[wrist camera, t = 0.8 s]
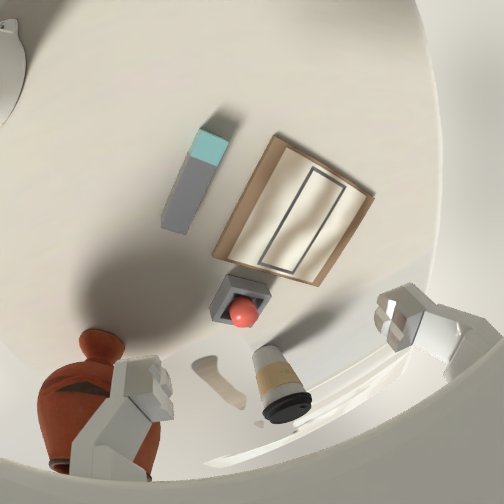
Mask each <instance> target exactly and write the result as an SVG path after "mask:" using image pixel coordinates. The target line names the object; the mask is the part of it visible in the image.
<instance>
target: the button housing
mask: <svg viewBox="0 0 504 504" xmlns="http://www.w3.org/2000/svg"><path fill="white" fill-rule="evenodd" d="M242 296H245V297H249V298H251V299H252V300H253V302H254V305H255V307H256V309H257V311H258V314H259V315H260V314H261V312H262V311H263V309H264V308H265V306H266V305H267V303H268V302H269V300H270V298H271V297H272V295H271V293H270V291H269V290H268V288H267V286H266V284H262V283H258V282H255V281H251V280H247V279H243V278H239V277H235V276H232V275H228V274H227V275H226V277H225V279H224V281H223V283H222V284H221V286H220V288H219V290H218V292H217V294H216V296H215V298H214V300H213V302H212V303H211V305H210V307H209V310H210V314H211V318H212V321H214V322H220V323H225V324H231V325H234V324H233V322H232V319H231V316H230V313H229V310H228V307H229V304H230V303H231V301H232V300H234V299H235V298H238V297H242ZM258 317H259V316H258ZM252 326H253V324H252V325H250V326H248V327H249V328H251V327H252Z"/></svg>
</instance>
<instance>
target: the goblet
mask: <svg viewBox="0 0 504 504" xmlns="http://www.w3.org/2000/svg"><path fill="white" fill-rule="evenodd" d="M79 345H80V348H81V350H82V352H83V353H84V354H85V356H86V357H87V359H86V360H85V361H84V362H77V363H72V364H69V365H66V366H64V367H61V368H59V369H57V370H56V371H54V372H53V373H52V374H51V375H50V376H49V377H48V378H47V379H46V380H45V381H44V383H43V385H42V387H41V389H40V392H39V395H38V402H37V411H38V419H39V424H40V428H41V432H42V435H43V438H44V442H45V445H46V449H47V452H48V455H49V459H50V461H49V466H50V468H51V469H52V470H54V471H56V472H58V473H60V474H66V475H69V470H70V457H71V447H72V442H73V441H74V439H75V438H76V437H77V435H78V434H79V433H80V431H81V430H82V429H83V428H84V426H85V425H86V424H87V422H88V421H89V420H90V418H91V417H92V416H93V415H94V413H95V412H96V411H97V409H98V408H99V407H100V406H101V404H102V403H103V402H104V401H105V399H106V398H110V392H111V385H112V378H113V371H114V366H113V364H115V362H116V361H117V360H120V359H121V357H122V355H123V352H124V345H123V343H122V342H121V340H120V339H119V338H118V337H117V336H115V335H113V334H111V333H109V332H105V331H101V330H87V331H85V332H83V334H82V335H81V336H80V338H79ZM151 423H152V425H151V427H150V429H149V431H148V433H147V435H146V437H145V439H144V441H143V443H142V444H141V446H140V448H139V450H138V452H137V454H136V456H135V458H134V460H133V463H135V464H136V465H138V466H139V467H141V468H143V469H144V470H145V471H146V475H147V482H151V481H152V477H151V476H150V474H151V470H152V466H153V463H154V460H155V456H156V453H157V449H158V446H159V441H160V429H161V427H160V421H159V422H151Z"/></svg>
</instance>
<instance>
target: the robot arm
mask: <svg viewBox="0 0 504 504" xmlns="http://www.w3.org/2000/svg"><path fill="white" fill-rule="evenodd" d="M3 27H4V29H3ZM25 68H26V59H25V52H24V48H23V46H22V44H21V42H20V40H19V38H18V21H17V20H16V19H7V20H3V21H0V126H1V125H2V124H3V123H4V122H5V121H6V119H7V118H8V116H9V115H10V113H11V112H12V110H13V108H14V106H15V104H16V102H17V100H18V97H19V94H20V92H21V88H22V85H23V81H24V76H25ZM377 304H378V305H379V307H378V308H377V309H376V311H375V315H374V321H375V325H376V327H377V329H378V331H379V332H380V333H381V334H383V335H385V336H387V342H388V344H389V345H390V346H391V347H392V349H393V350H394V351H395V352H398V351H400V350H402V349H405V348H407V347H409V346H411V345H412V346H413V347H415V348H417V349H419V350H421V351H423V352H425V353H427V354H429V355H431V356H433V357H435V358H437V359H439V360H441V361H443V362H445V363H447V364H449V365H448V367H447V368H446V370H445V371H444V374H443V376H444V378H445V379H446V380H447V381H448V384H447V385H445V386H444V387H442V388H441V389H439V390H438V391H436V392H435V393H433V394H432V395H430V396H429V397H427V398H426V399H424V400H423V401H421V402H420V403H418V404H416V405H415V406H413V407H411V408H410V409H408V410H406V411H404V412H403V413H401V414H399V415H397V416H396V417H394V418H392V419H390V420H388V421H386V422H384V423H382V424H381V425H378V426H377V427H374V428H373V429H370V430H368V431H366V432H364V433H362V434H360V435H357V436H355V437H353V438H351V439H348V440H346V441H343V442H341V443H339V444H336V445H334V446H331V447H328V448H326V449H323V450H320V451H318V452H315V453H312V454H309V455H306V456H303V457H300V458H296V459H293V460H290V461H286V462H283V463H279V464H276V465H272V466H268V467H264V468H260V469H255V470H250V471H246V472H241V473H235V474H230V475H223V476H217V477H210V478H201V479H192V480H180V481H160V482H159V481H158V482H147V475H146V471H145V470H144V469H143V468H141V467H139V466H138V465H136V464H135V463H133V460H134V458H135V456H136V454H137V452H138V450H139V448H140V446H141V444H142V443H143V441H144V439H145V437H146V435H147V433H148V431H149V429H150V427H151V425H152V423H151V422H159V421H166V420H173V419H174V412H173V403H172V402H171V400H170V399H169V398H170V396H171V395H172V384H171V380H170V377H169V374H168V372H167V371H166V369H164V368H162V367H161V360H160V359H159V357H158V356H157V355H152V356H145V357H137V358H129V359H122V360H117V361H116V362H115V365H114V371H113V378H112V385H111V392H110V398H106V399H105V401H104V402H103V403H102V404H101V406H100V407H99V408H98V409H97V411H96V412H95V413H94V415H93V416H92V417H91V418H90V420H89V421H88V422H87V424H86V425H85V426H84V428H83V429H82V430H81V431H80V433H79V434H78V435H77V437H76V438H75V439H74V441H73V442H72V447H71V457H70V470H69V475H66V474H60V473H55V472H51V471H46V470H42V469H38V468H34V467H30V466H27V465H23V464H20V463H17V462H14V461H11V460H8V459H5V458H0V504H504V337H503V336H502V335H501V334H500V333H498V331H497V330H496V329H495V328H494V327H493V326H491V324H490V323H489V322H488V321H487V320H486V319H485V318H481V317H478V316H475V315H472V314H469V313H466V312H463V311H460V310H457V309H454V308H450V307H447V306H444V305H441V304H437V305H436V304H435V303H434V302H433V301H431V299H429V298H428V297H427V296H426V295H425V294H424V293H423V292H422V291H421V290H420V289H419V288H417V287H416V286H415V285H414V284H413V283H407V284H405V285H402V286H400V287H397V288H395V289H392V290H390V291H387V292H385V293H382V294H380V295H379V296H378V299H377Z"/></svg>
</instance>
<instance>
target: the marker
mask: <svg viewBox="0 0 504 504" xmlns="http://www.w3.org/2000/svg"><path fill="white" fill-rule="evenodd" d="M228 144H229V142H228V141H226V140H225V139H224V138H221V137H219V136H217V135H214V134H212V133H210V132H207V131H205V130H202V129H200V128H199V130H198V132H197V134H196V136H195V138H194V141H193V143H192V145H191V147H190V149H189V151H188V153H187V156H186V158H185V160H184V162H183V164H182V167H181V169H180V171H179V174H178V176H177V178H176V181H175V183H174V185H173V188H172V190H171V193H170V195H169V198H168V200H167V203H166V205H165V208H164V210H163V213H162V215H161V228H164V229H167V230H170V231H173V232H177V233H180V234H183V235H186V233H187V231H188V229H189V226H190V224H191V222H192V220H193V217H194V215H195V213H196V211H197V208H198V206H199V204H200V202H201V200H202V197H203V195H204V193H205V191H206V189H207V187H208V184H209V182H210V180H211V178H212V176H213V174H214V172H215V170H216V168H217V166H218V164H219V162H220V160H221V158H222V155H223V153H224V151H225V150H226V148H227V146H228Z"/></svg>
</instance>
